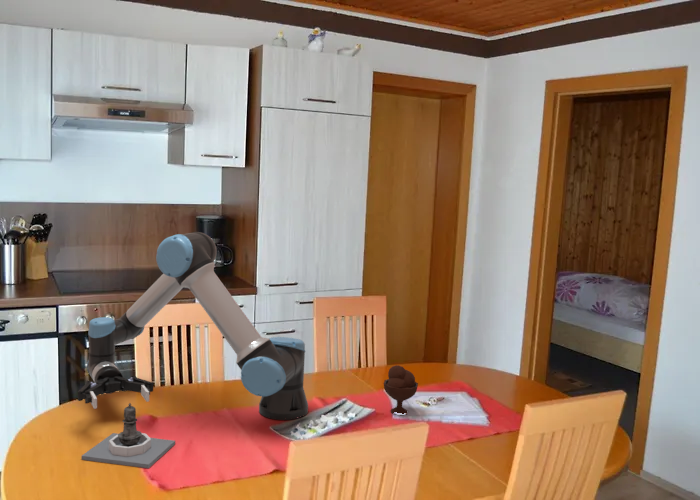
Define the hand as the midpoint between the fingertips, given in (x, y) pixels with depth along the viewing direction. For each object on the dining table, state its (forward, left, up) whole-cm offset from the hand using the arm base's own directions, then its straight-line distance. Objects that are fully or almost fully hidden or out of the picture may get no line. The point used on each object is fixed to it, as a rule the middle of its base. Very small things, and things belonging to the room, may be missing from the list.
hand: (122, 400), depth 178 cm
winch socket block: (-6, +7, -11) cm, 14 cm away
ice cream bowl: (-71, -42, -11) cm, 83 cm away
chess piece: (-6, +7, -10) cm, 14 cm away
